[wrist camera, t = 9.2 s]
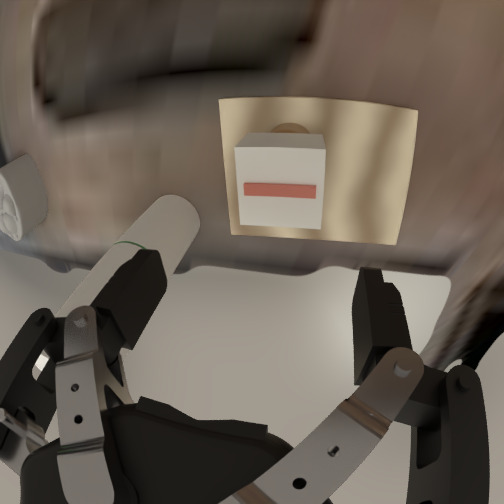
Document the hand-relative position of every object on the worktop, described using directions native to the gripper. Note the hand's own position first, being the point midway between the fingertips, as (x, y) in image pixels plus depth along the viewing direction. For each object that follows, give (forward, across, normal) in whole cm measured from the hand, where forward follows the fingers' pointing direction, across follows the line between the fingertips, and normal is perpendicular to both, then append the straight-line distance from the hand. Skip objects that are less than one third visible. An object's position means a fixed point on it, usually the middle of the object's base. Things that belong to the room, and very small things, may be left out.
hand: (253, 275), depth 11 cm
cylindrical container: (+22, +15, +10) cm, 28 cm away
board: (+22, -3, +3) cm, 22 cm away
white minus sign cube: (+13, 0, 0) cm, 13 cm away
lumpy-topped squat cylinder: (+21, +45, +4) cm, 50 cm away
